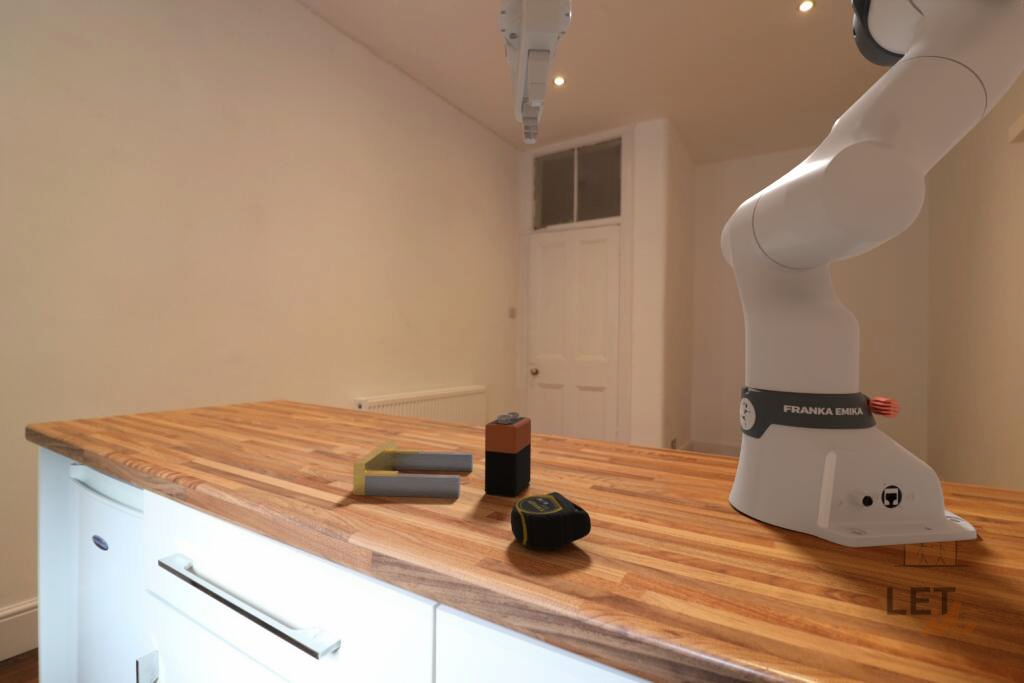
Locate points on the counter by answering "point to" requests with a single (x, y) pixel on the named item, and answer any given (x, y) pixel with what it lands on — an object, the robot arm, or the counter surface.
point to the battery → (507, 454)
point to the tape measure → (548, 521)
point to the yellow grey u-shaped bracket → (381, 481)
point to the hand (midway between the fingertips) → (533, 124)
